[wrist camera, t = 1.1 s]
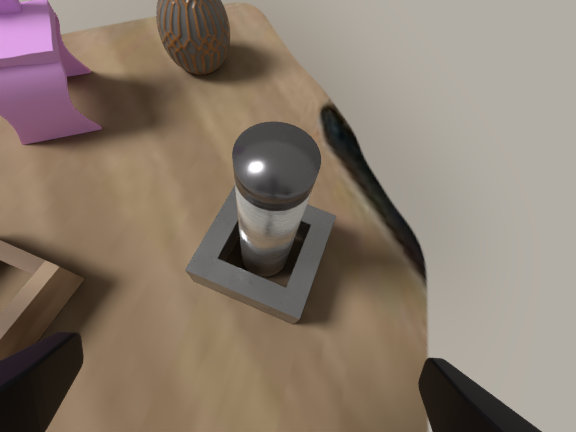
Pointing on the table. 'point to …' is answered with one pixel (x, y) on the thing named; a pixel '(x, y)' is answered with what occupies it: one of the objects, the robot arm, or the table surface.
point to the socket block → (247, 286)
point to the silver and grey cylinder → (272, 191)
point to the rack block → (33, 299)
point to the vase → (194, 33)
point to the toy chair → (37, 74)
